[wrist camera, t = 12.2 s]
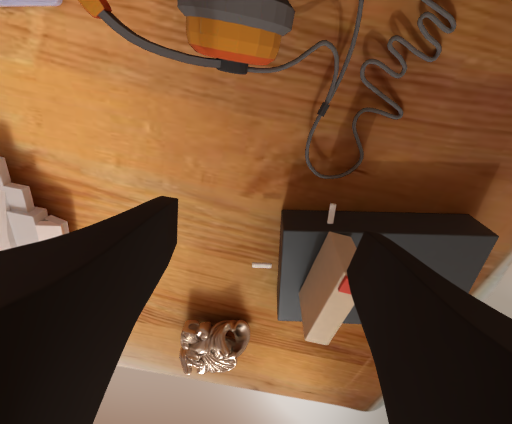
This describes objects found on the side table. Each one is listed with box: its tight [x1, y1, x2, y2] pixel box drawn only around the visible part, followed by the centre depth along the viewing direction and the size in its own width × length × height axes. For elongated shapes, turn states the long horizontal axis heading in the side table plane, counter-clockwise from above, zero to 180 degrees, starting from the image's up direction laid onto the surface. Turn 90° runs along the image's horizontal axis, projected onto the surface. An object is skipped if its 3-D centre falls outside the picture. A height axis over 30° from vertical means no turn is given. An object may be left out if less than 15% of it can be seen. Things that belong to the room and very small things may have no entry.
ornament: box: [179, 320, 250, 375], centre depth 26 cm, size 8×7×4 cm
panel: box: [252, 203, 499, 324], centre depth 20 cm, size 16×11×3 cm
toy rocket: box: [0, 157, 69, 251], centre depth 21 cm, size 16×10×2 cm, turn 169°
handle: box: [299, 232, 357, 345], centre depth 17 cm, size 6×2×4 cm, turn 165°
